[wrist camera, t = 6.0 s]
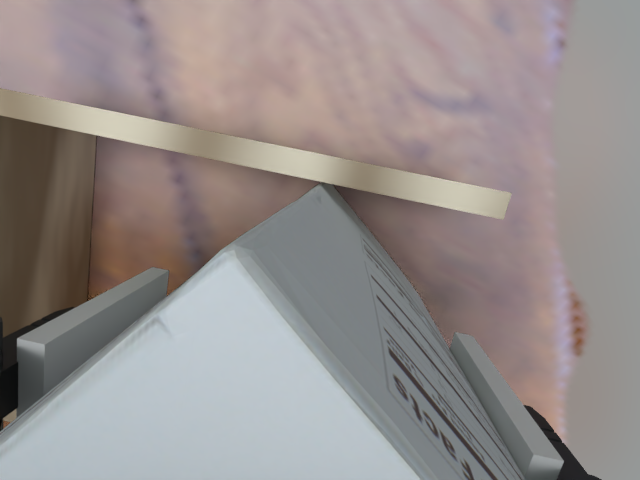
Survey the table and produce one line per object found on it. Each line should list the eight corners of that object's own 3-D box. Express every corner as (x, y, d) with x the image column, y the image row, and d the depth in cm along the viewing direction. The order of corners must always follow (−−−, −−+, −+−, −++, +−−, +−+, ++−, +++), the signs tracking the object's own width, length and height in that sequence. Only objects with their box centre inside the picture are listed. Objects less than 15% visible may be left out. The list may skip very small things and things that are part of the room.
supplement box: (301, 387, 22) (169, 1031, 6) (203, 275, 21) (-310, 673, 5) (429, 300, 20) (775, 876, 4) (329, 173, 19) (226, 226, 3)
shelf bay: (64, 328, 25) (-66, 404, 17) (74, 105, 21) (-83, 71, 14) (388, 401, 24) (408, 516, 16) (449, 182, 21) (511, 193, 13)
